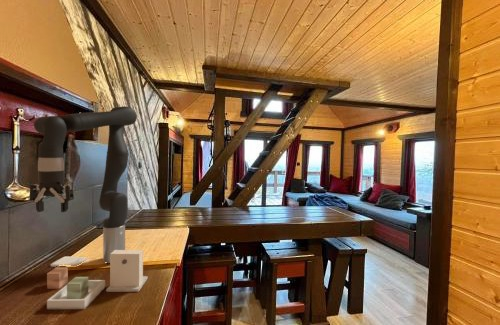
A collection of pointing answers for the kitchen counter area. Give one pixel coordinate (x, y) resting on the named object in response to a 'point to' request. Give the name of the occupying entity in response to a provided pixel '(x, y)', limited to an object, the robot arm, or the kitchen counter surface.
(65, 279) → the terracotta block
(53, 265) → the external hard drive
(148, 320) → the kitchen counter surface
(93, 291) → the tray
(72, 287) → the sage block
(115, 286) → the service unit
